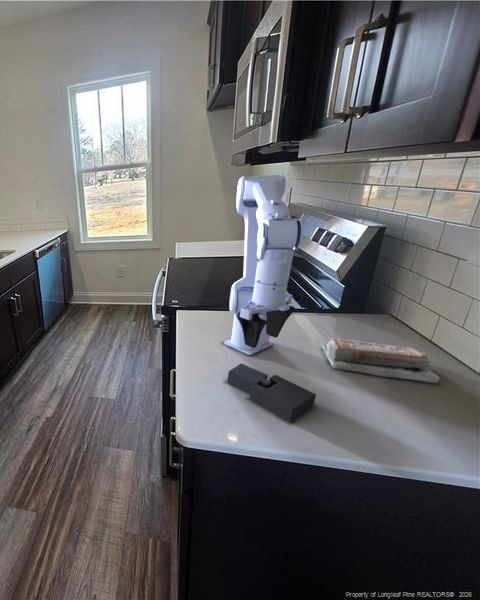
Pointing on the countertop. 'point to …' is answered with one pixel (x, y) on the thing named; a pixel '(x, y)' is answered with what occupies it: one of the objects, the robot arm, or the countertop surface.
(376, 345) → the packaged product
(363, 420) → the countertop surface
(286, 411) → the black pad
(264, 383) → the graphite pad
